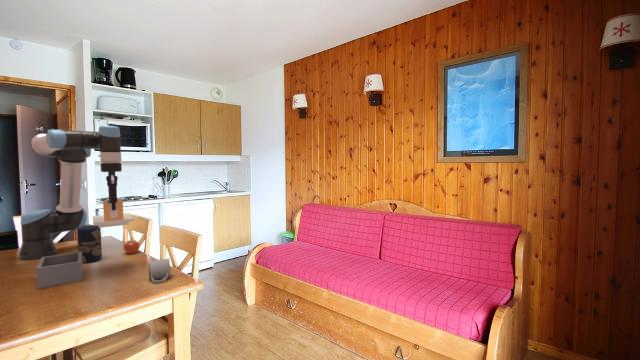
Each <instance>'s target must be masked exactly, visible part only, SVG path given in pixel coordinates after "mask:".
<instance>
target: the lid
mask: <svg viewBox="0 0 640 360" xmlns="http://www.w3.org/2000/svg"><path fill="white" fill-rule="evenodd" d="M109 201H110V200H109V199H108V200H103V201H102V205H103V207H102V209H103V215H95V216H94V215H93V216H92V222H93V223H92V225H93V226H94V225H98V226H99V228H100V229H102V228H109V227H119V226H127V225H130V224H129V223H130V222H131V223H132V222H135V220H134V217H133V216H132V215H131V213H130V212H126V213H124V203H123V202H124V199H118V200H117V211H118V218H110V204H109V203H108V202H109Z"/></svg>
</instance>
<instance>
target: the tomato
mask: <svg viewBox="0 0 640 360" xmlns="http://www.w3.org/2000/svg"><path fill="white" fill-rule="evenodd" d="M139 249H140V242H138V241H137V240H136V239H133V238H132V237H131V238H130V239H129V240H127V241H126V242H125V243H124V245H123V250H124V252H125V253H126V254H128V255H134V254H136V253H137V252H138V251H139Z"/></svg>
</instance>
